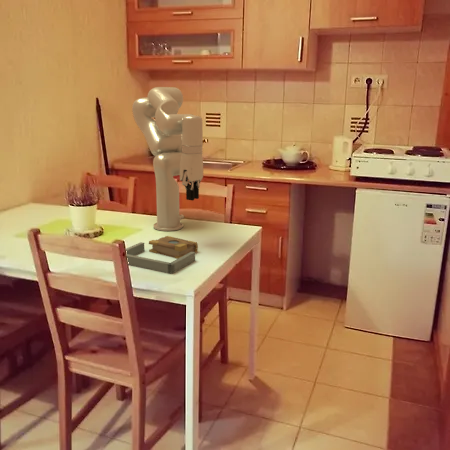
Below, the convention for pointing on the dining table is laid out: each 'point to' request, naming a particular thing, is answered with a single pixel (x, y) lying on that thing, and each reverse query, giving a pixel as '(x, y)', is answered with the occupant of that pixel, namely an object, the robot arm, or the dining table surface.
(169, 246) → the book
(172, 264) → the tray
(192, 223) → the dining table surface
